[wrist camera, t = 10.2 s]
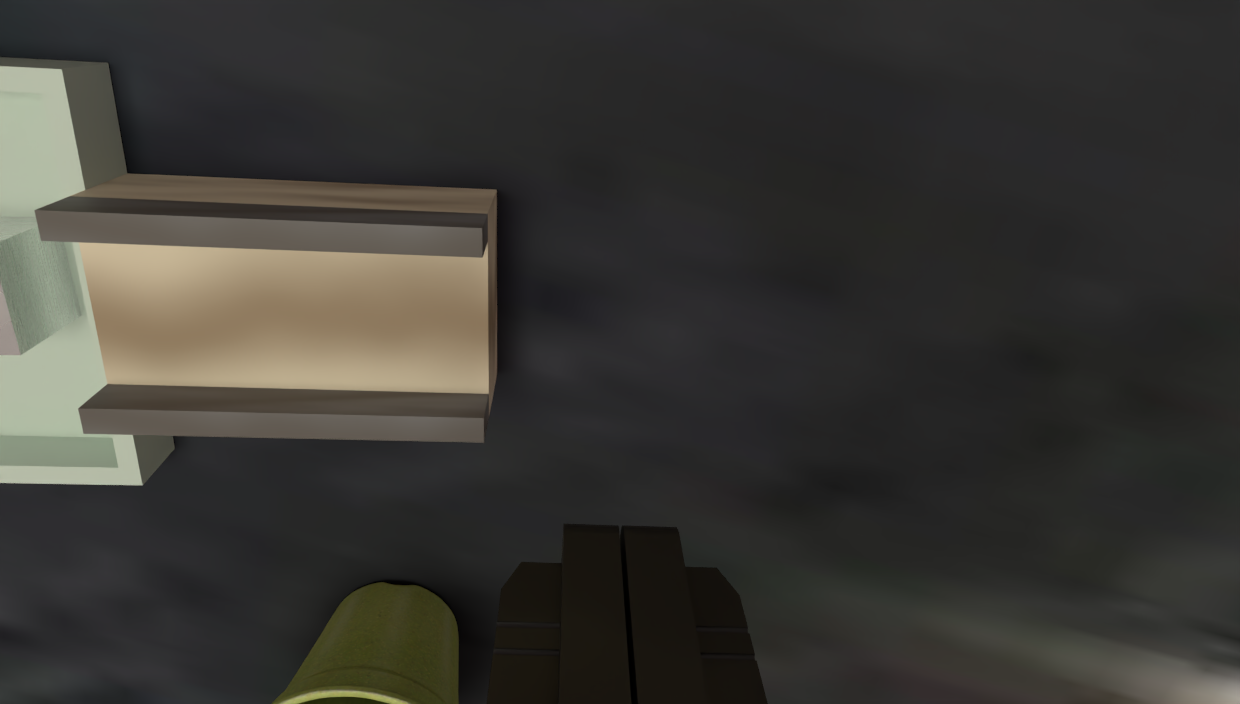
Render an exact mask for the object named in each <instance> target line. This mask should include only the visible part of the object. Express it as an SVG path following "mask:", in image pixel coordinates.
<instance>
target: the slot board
mask: <svg viewBox="0 0 1240 704" xmlns="http://www.w3.org/2000/svg"><path fill="white" fill-rule="evenodd" d="M34 211H35V216H36V220H37V225H38V229H39V234H40V238H41V241H56V242H79V246H80V251H81V256H82V261H83V266H84V271H85V276H86V281H87V286H88V291H89V296H90V301H91V306H92V311H93V316H94V321H95V325H96V330H97V335H98V340H99V345H100V350H101V355H102V360H103V365H104V370H105V375H106V380H107V385H106V386H104V387H103V388H102V389H101V390H100V391H98V392H97V393H96V394H95V395H94V396H92V397H91V398H90V399H89V400H88V401H86V402H85V403H84V404H83V405H82V406H80V407H79V408H78V411H79V415H80V420H81V424H82V429H83V434H115V435H161V436H207V437H253V438H299V439H345V440H391V441H437V442H483V443H484V440H485V435H486V429H487V424H488V419H489V414H490V409H491V403H492V398H493V393H494V388H495V383H496V377H497V190H494V189H472V188H449V187H426V186H403V185H381V184H358V183H335V182H312V181H290V180H267V179H244V178H221V177H199V176H176V175H153V174H130V173H127V174H124V175H122V176H119V177H117V178H114V179H112V180H109V181H107V182H104V183H102V184H99V185H97V186H94V187H92V188H89V189H86V190H84V191H81V192H79V193H76V194H74V195H71V196H69V197H66V198H64V199H61V200H59V201H56V202H54V203H51V204H49V205H46V206H43V207H41V208H38V209H36V210H34Z"/></svg>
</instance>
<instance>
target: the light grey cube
mask: <svg viewBox="0 0 1240 704" xmlns="http://www.w3.org/2000/svg"><path fill="white" fill-rule="evenodd" d="M80 316H82V315H81V311H80V307H79V303H78V299H77V295H76V290H75V286H74V282H73V278H72V274H71V270H70V266H69V261H68V257H67V253H66V249H65V245H64V242H56V241H41V238H40V234H39V229H38V225H37V220H36V217H0V355H22V354H24V353H25V352H27V351H28V350H30V349H31V348H33V347H34V346H36V345H37V344H39V343H40V342H42V341H43V340H45V339H47V338H48V337H50V336H51V335H53V334H54V333H56V332H57V331H59V330H60V329H62V328H63V327H65V326H67V325H68V324H70V323H71V322H73V321H74V320H76V319H77V318H79V317H80Z"/></svg>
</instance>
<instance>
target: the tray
mask: <svg viewBox="0 0 1240 704" xmlns="http://www.w3.org/2000/svg"><path fill="white" fill-rule="evenodd" d="M124 174H127V169H126V163H125V157H124V151H123V146H122V140H121V134H120V128H119V123H118V117H117V111H116V105H115V99H114V94H113V88H112V82H111V76H110V71H109V65H108V63H102V62H84V61H65V60H46V59H27V58H8V57H0V217H36V216H35V211H34V210H36V209H38V208H41V207H43V206H46V205H49V204H51V203H54V202H56V201H59V200H61V199H64V198H66V197H69V196H71V195H74V194H76V193H79V192H81V191H84V190H86V189H89V188H92V187H94V186H97V185H99V184H102V183H104V182H107V181H109V180H112V179H114V178H117V177H119V176H122V175H124ZM64 245H65V249H66V253H67V257H68V261H69V266H70V270H71V274H72V278H73V282H74V286H75V290H76V295H77V299H78V303H79V307H80V311H81V315H82V316H80V317H79V318H77V319H76V320H74V321H73V322H71V323H70V324H68V325H67V326H65V327H63V328H62V329H60V330H59V331H57V332H56V333H54V334H53V335H51V336H50V337H48V338H47V339H45V340H43V341H42V342H40V343H39V344H37V345H36V346H34V347H33V348H31V349H30V350H28V351H27V352H25V353H24V354H22V355H0V483H39V484H96V485H143V484H144V483H145V482H146V481H147V480H148V479H149V477H150V476H151V475H152V474H153V473H154V472H155V471H156V469H157V468H158V467H159V466H160V465H161V464H162V463H163V461H164V460H165V459H166V458H167V457H168V456H169V455H170V453H171V452H172V451H173V450H174V449H175V446H174V440H173V436H161V435H115V434H83V429H82V424H81V420H80V415H79V411H78V408H79V407H80V406H82V405H83V404H84V403H85V402H86V401H88V400H89V399H90V398H91V397H92V396H94V395H95V394H96V393H97V392H98V391H100V390H101V389H102V388H103V387H104V386H106V385H107V380H106V375H105V370H104V365H103V360H102V355H101V350H100V345H99V340H98V335H97V330H96V325H95V321H94V316H93V311H92V306H91V301H90V296H89V291H88V286H87V281H86V276H85V271H84V266H83V261H82V256H81V251H80V246H79V242H64Z"/></svg>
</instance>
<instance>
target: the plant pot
mask: <svg viewBox="0 0 1240 704" xmlns="http://www.w3.org/2000/svg"><path fill="white" fill-rule="evenodd" d="M458 658H459V638H458V627H457V623H456V619H455V617H454V615H453V613H452V611H451V610H450V608H449V607H448V606H447V605H446V604H445V603H444V602H443V601H442V600H441V599H440V598H439V597H438V596H436V595H435V594H434V593H432V592H430V591H428V590H427V589H424V588H422V587H420V586H417V585H393V584H388V583H384V582H379V583H374V584H370V585H367V586H364V587H362V588H360V589H358V590H356V591H354V592H352V593H351V594H350V595H349V596H347V597H346V598H345V599H344V600H343V601H342V602H341V604H340V605H339V606H338V608H337V609H336V611H335V612H334V614H333V615H332V617H331V619H330V620H329V622H328V624H327V625H326V627H325V628H324V630H323V632H322V633H321V635H320V637H319V638H318V640H317V641H316V643H315V645H314V646H313V648H312V649H311V651H310V653H309V654H308V656H307V657H306V659H305V661H304V662H303V664H302V665H301V667H300V668H299V670H298V672H297V673H296V675H295V676H294V678H293V679H292V681H291V682H290V684H289V686H288V687H287V689H286V690H285V691H284V692H283V693H282V694H281V695H280V696H279V697H278V698H277V699H276V700H275V701H274V702H273V703H272V704H458Z"/></svg>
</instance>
